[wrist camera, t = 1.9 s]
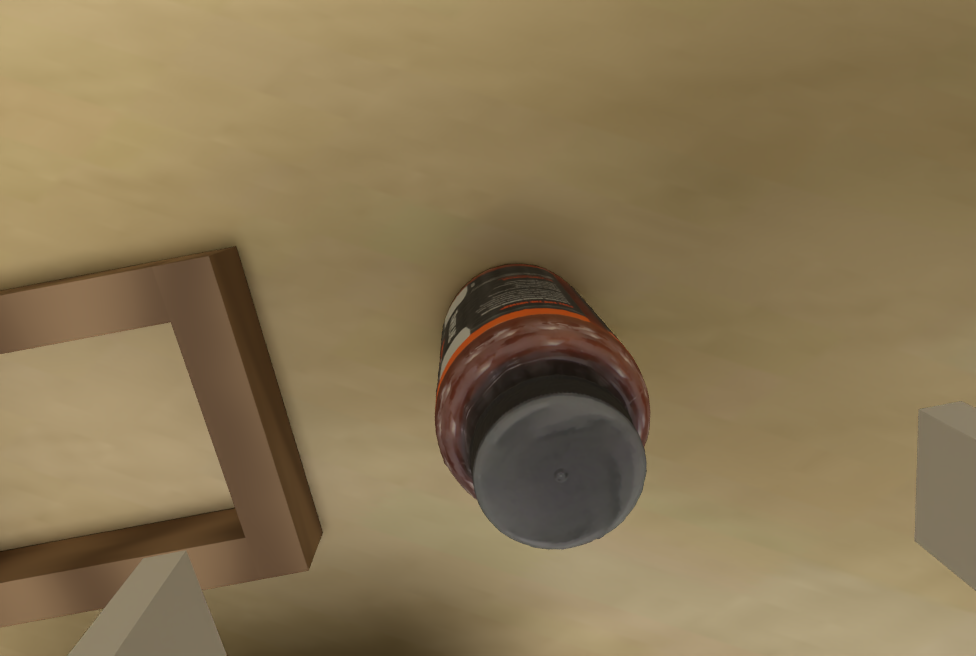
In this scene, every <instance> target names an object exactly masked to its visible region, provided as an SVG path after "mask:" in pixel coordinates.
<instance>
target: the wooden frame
mask: <svg viewBox="0 0 976 656" xmlns="http://www.w3.org/2000/svg"><path fill="white" fill-rule="evenodd" d="M168 322H171V324H172V327H173V330H174V333H175V336H176V338H177V341H178V344H179V347H180V350H181V353H182V356H183V359H184V362H185V364H186V367H187V370H188V373H189V376H190V379H191V382H192V385H193V388H194V390H195V393H196V396H197V399H198V402H199V405H200V408H201V411H202V414H203V416H204V419H205V422H206V425H207V428H208V431H209V434H210V437H211V440H212V442H213V445H214V448H215V451H216V454H217V457H218V460H219V463H220V466H221V468H222V471H223V474H224V477H225V480H226V483H227V486H228V489H229V492H230V494H231V497H232V500H233V503H234V506H235V508H233V509H228V510H223V511H217V512H212V513H206V514H201V515H196V516H190V517H185V518H179V519H174V520H169V521H163V522H158V523H152V524H147V525H142V526H136V527H131V528H125V529H120V530H115V531H109V532H104V533H98V534H93V535H88V536H82V537H77V538H71V539H66V540H61V541H55V542H50V543H44V544H39V545H34V546H28V547H23V548H18V549H12V550H7V551H1V552H0V627H5V626H11V625H16V624H22V623H27V622H32V621H38V620H43V619H49V618H54V617H60V616H65V615H70V614H76V613H81V612H87V611H92V610H98V609H103V608H105V607H106V605H107V604H108V603H109V602H110V600H111V599H112V598H113V596H114V595H115V594H116V593H117V591H118V590H119V589H120V588H121V586H122V585H123V584H124V582H125V581H126V580H127V579H128V577H129V576H130V575H131V573H132V572H133V571H134V570H135V568H136V567H137V566H138V565H139V563H140V562H141V561H142V559H143V558H148V557H154V556H159V555H164V554H169V553H174V552H180V551H185V550H186V551H187V553H188V556H189V559H190V561H191V564H192V566H193V569H194V571H195V574H196V577H197V579H198V582H199V584H200V587H201V590H206V589H212V588H217V587H222V586H228V585H233V584H239V583H244V582H250V581H255V580H260V579H266V578H271V577H277V576H282V575H288V574H293V573H298V572H304V571H308V570H309V568H310V565H311V562H312V560H313V557H314V555H315V552H316V549H317V547H318V544H319V541H320V539H321V536H322V529H321V526H320V523H319V519H318V516H317V513H316V509H315V506H314V503H313V500H312V496H311V493H310V490H309V486H308V483H307V480H306V476H305V473H304V470H303V466H302V463H301V460H300V457H299V453H298V450H297V447H296V443H295V440H294V437H293V433H292V430H291V427H290V423H289V420H288V417H287V414H286V410H285V407H284V404H283V400H282V397H281V394H280V390H279V387H278V384H277V380H276V377H275V374H274V371H273V367H272V364H271V361H270V357H269V354H268V351H267V347H266V344H265V341H264V338H263V334H262V331H261V328H260V324H259V321H258V318H257V314H256V311H255V308H254V304H253V301H252V298H251V295H250V291H249V288H248V285H247V281H246V278H245V275H244V271H243V268H242V265H241V261H240V258H239V255H238V252H237V248H236V246H235V247H230V248H224V249H219V250H214V251H208V252H203V253H198V254H193V255H187V256H182V257H177V258H171V259H166V260H161V261H156V262H150V263H145V264H140V265H134V266H129V267H124V268H118V269H113V270H108V271H103V272H97V273H92V274H87V275H81V276H76V277H71V278H66V279H60V280H55V281H50V282H44V283H39V284H34V285H28V286H23V287H18V288H13V289H7V290H2V291H0V354H4V353H9V352H14V351H20V350H25V349H30V348H35V347H41V346H46V345H51V344H57V343H62V342H67V341H73V340H78V339H83V338H89V337H94V336H99V335H105V334H110V333H115V332H121V331H126V330H131V329H137V328H142V327H147V326H152V325H158V324H163V323H168Z"/></svg>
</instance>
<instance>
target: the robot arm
mask: <svg viewBox="0 0 976 656" xmlns="http://www.w3.org/2000/svg"><path fill="white" fill-rule="evenodd" d="M915 541H916V542H917V543H918V544H919V545H920V546H922V547H923V548H924V549H925V550H927V551H928V552H929V553H930V554H931V555H933V556H934V557H935V558H936V559H937V560H939V561H940V562H941V563H942V564H944V565H945V566H946V567H947V568H948V569H950V570H951V571H952V572H953V573H955V574H956V575H957V576H958V577H959V578H961V579H962V580H963V581H964V582H965V583H967V584H968V585H969V586H970V587H972V588H973V589H974V590H975V591H976V408H975V407H973V406H970V405H968V404H966V403H964V402H962V401H959V402H954V403H949V404H944V405H938V406H933V407H928V408H923V409H919V414H918V446H917V478H916V510H915ZM67 656H227V654H226V652H225V649H224V646H223V644H222V641H221V639H220V636H219V633H218V631H217V628H216V626H215V623H214V621H213V618H212V615H211V613H210V610H209V608H208V605H207V602H206V600H205V597H204V595H203V592H202V590H201V587H200V584H199V582H198V579H197V577H196V574H195V571H194V569H193V566H192V564H191V561H190V559H189V556H188V553H187V551H186V550H185V551H180V552H174V553H169V554H164V555H159V556H154V557H148V558H143V559H142V561H141V562H140V563H139V565H138V566H137V567H136V568H135V570H134V571H133V572H132V573H131V575H130V576H129V577H128V579H127V580H126V581H125V582H124V584H123V585H122V586H121V588H120V589H119V590H118V591H117V593H116V594H115V595H114V596H113V598H112V599H111V600H110V602H109V603H108V604H107V605H106V607H105V608H104V609H103V611H102V612H101V613H100V614H99V616H98V617H97V618H96V620H95V621H94V622H93V623H92V625H91V626H90V627H89V628H88V630H87V631H86V632H85V634H84V635H83V636H82V637H81V639H80V640H79V641H78V643H77V644H76V645H75V646H74V648H73V649H72V650H71V651H70V653H69V654H68V655H67Z"/></svg>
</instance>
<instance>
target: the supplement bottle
mask: <svg viewBox="0 0 976 656" xmlns="http://www.w3.org/2000/svg"><path fill="white" fill-rule="evenodd" d="M649 426H650V403H649V395H648V391H647V387H646V385H645V382H644V379H643V377H642V374H641V372H640V370H639V368H638V366H637V364H636V362H635V360H634V359H633V357H632V356H631V355H630V353H629V352H628V351H627V349H626V348H625V347H624V346H623V344H622V343H621V342H620V341H619V340H618V338H617V337H616V336H615V335H614V334H613V333H612V332H611V331H610V329H609V328H608V327H607V326H606V325H605V324H604V322H603V321H602V320H601V319H600V318H599V317H598V315H597V314H596V313H595V312H594V311H593V310H592V308H591V307H590V306H589V305H588V304H587V303H586V302H585V300H584V299H583V298H582V297H581V296H580V295H579V294H578V293H577V292H576V291H575V289H574V288H573V287H571V286H570V285H569V284H568V283H567V282H565V281H564V280H563V279H562V278H560V277H559V276H557V275H556V274H554V273H552V272H550V271H548V270H547V269H544V268H541V267H538V266H533V265H527V264H509V265H503V266H499V267H495V268H492V269H489V270H486V271H485V272H483V273H481V274H479V275H478V276H476V277H474V278H473V279H472V280H471V281H470V282H468V283H467V284H466V285H465V286H464V287H463V288H462V289H461V290H460V292H459V293H458V294H457V295H456V297H455V298H454V300H453V302H452V303H451V305H450V308H449V310H448V312H447V315H446V319H445V322H444V325H443V331H442V338H441V352H440V363H439V372H438V383H437V389H436V406H435V427H436V435H437V439H438V445H439V448H440V451H441V454H442V457H443V459H444V463H445V464H446V466H447V467H448V468H449V470H450V471H451V473H452V475H453V476H454V477H455V478H456V480H457V481H458V482H459V484H460V485H461V486H462V487H463V488H464V489H465V490H466V491H467V492H468V493H469V494H470V495H472V496H473V498H475V499H477V500H478V504H479V505H480V507H481V509H482V511H483V512H484V514H485V516H486V517H487V518H488V519H489V521H490V522H491V523H492V524H493V525H494V526H495V527H496V528H497V529H498V530H499V531H500V532H502V533H503V534H505V535H506V536H508V537H509V538H511V539H513V540H515V541H518V542H520V543H523V544H526V545H529V546H531V547H535V548H542V549H566V548H572V547H576V546H580V545H583V544H586V543H589V542H592V541H593V540H595V539H600V538H601V537H603V536H604V535H605V534H606V533H608V532H610V531H612V530H613V529H615V528H616V527H617V526H618V525H619V524H620V523H622V522H623V521H624V519H625V518H626V516H627V515H628V514H629V513H630V512H631V510H632V509H633V508H634V506H635V505H636V503H637V500H638V498H639V497H640V495H641V493H642V490H643V485H644V480H645V476H646V471H647V470H646V456H645V449H644V446H645V443H646V441H647V438H648V433H649Z"/></svg>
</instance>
